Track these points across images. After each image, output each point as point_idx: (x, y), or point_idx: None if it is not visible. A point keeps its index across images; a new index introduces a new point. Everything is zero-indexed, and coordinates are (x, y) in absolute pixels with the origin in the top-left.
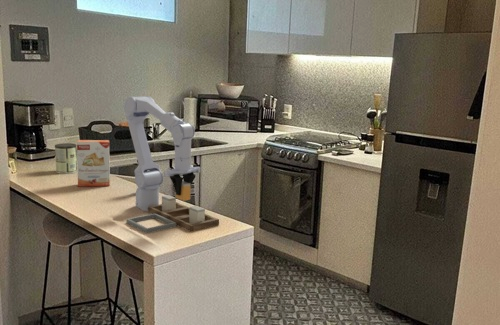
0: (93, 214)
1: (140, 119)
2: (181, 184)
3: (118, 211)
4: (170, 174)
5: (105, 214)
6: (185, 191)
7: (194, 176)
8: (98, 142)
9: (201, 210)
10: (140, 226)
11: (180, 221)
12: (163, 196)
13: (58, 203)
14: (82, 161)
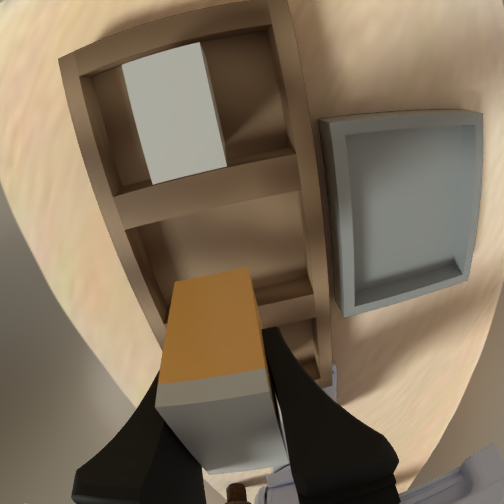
0: (447, 378)
1: None
2: (282, 404)
3: (386, 394)
4: (440, 496)
5: (428, 375)
6: (230, 328)
7: (86, 481)
8: None
9: (159, 53)
10: (481, 166)
11: (308, 111)
12: (281, 416)
13: (437, 437)
14: None
